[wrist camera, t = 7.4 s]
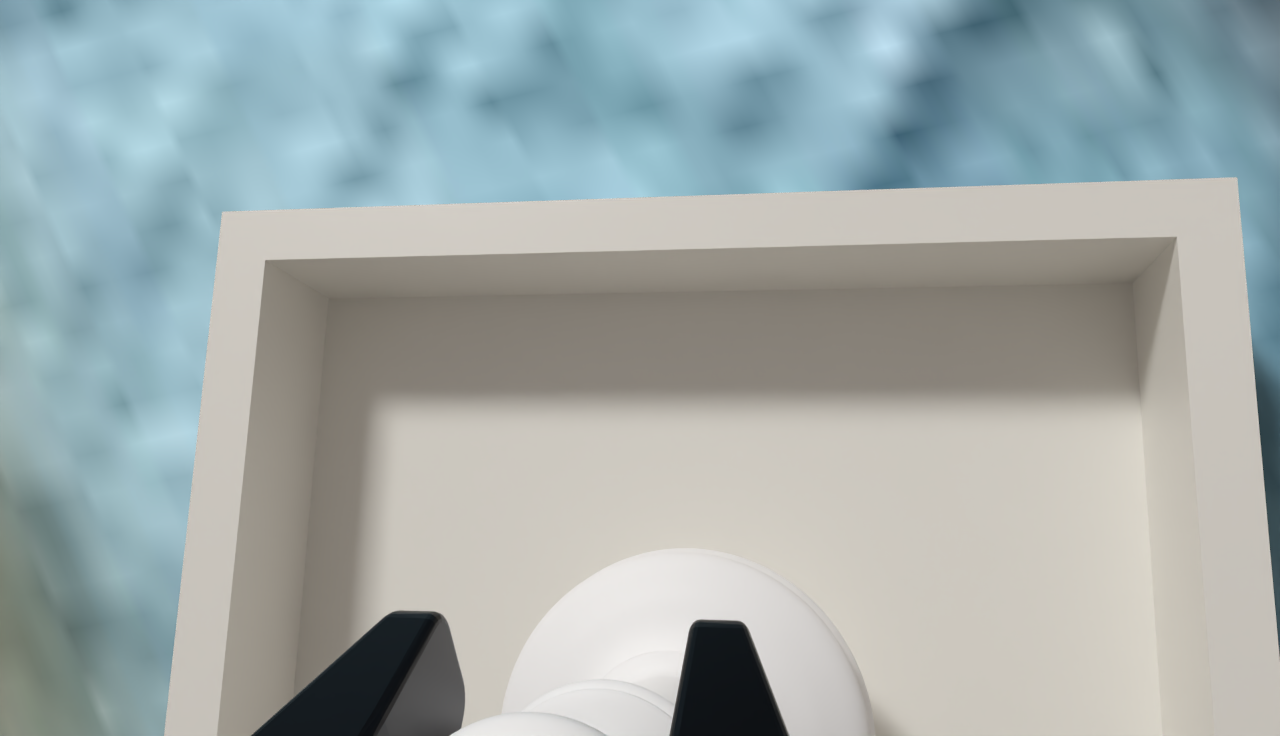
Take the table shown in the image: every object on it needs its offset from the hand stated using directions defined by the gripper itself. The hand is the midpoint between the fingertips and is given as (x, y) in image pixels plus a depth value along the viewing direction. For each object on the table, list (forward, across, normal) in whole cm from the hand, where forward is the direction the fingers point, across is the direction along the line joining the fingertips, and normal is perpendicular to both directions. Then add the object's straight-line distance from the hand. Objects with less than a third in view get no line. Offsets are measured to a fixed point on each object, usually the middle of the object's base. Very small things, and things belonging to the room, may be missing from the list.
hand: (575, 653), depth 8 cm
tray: (+6, 0, +7) cm, 9 cm away
